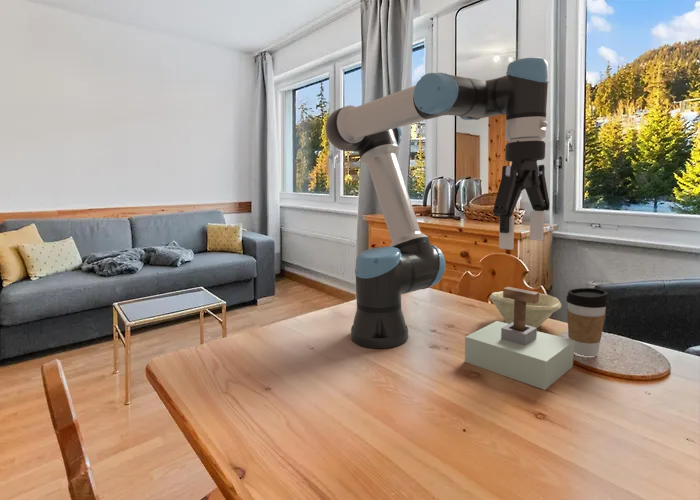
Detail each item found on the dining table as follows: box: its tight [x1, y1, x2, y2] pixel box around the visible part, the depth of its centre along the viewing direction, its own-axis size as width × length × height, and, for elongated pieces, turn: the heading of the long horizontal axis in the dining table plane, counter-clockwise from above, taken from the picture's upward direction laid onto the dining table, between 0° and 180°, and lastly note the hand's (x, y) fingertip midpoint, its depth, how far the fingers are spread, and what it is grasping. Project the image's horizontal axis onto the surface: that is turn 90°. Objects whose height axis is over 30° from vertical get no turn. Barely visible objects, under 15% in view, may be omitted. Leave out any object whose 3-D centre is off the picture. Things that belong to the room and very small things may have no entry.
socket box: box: [464, 320, 575, 391], centre depth 92 cm, size 18×14×8 cm
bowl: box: [489, 290, 562, 329], centre depth 115 cm, size 14×18×15 cm
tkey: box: [502, 286, 540, 332], centre depth 91 cm, size 7×2×11 cm, turn 42°
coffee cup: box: [565, 287, 610, 356], centre depth 96 cm, size 8×8×15 cm
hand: (521, 244), depth 88 cm, fingers open, 13 cm apart
